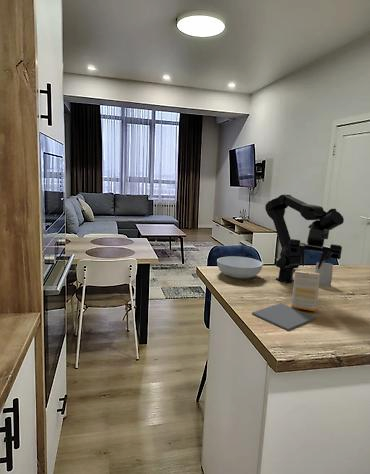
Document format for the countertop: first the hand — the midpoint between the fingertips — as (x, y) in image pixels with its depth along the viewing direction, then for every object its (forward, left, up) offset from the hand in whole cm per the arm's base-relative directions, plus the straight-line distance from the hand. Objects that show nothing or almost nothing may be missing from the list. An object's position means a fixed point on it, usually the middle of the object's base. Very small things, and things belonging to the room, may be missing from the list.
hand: (310, 267), depth 123 cm
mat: (+19, +4, -14) cm, 24 cm away
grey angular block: (-26, -8, -14) cm, 31 cm away
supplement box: (+8, +4, -13) cm, 16 cm away
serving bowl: (-2, -36, -14) cm, 39 cm away
